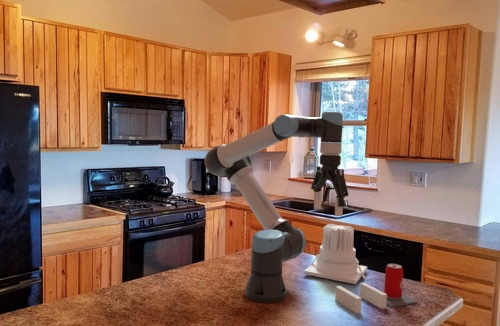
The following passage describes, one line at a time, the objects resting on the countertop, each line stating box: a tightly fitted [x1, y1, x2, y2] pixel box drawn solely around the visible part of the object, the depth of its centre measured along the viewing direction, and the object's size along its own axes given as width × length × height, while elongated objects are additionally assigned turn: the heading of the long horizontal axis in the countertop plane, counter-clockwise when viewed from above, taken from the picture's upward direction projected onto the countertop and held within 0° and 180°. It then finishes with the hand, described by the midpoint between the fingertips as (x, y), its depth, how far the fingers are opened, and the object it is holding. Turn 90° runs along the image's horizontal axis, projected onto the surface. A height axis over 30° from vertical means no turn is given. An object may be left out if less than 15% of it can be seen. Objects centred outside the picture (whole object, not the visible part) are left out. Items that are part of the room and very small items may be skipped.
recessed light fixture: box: [303, 223, 368, 285], centre depth 178 cm, size 25×22×21 cm
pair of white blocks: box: [334, 282, 387, 314], centre depth 147 cm, size 13×12×5 cm
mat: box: [381, 290, 418, 308], centre depth 153 cm, size 12×12×1 cm
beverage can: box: [383, 263, 404, 300], centre depth 153 cm, size 6×6×12 cm
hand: (327, 212), depth 151 cm, fingers open, 13 cm apart
